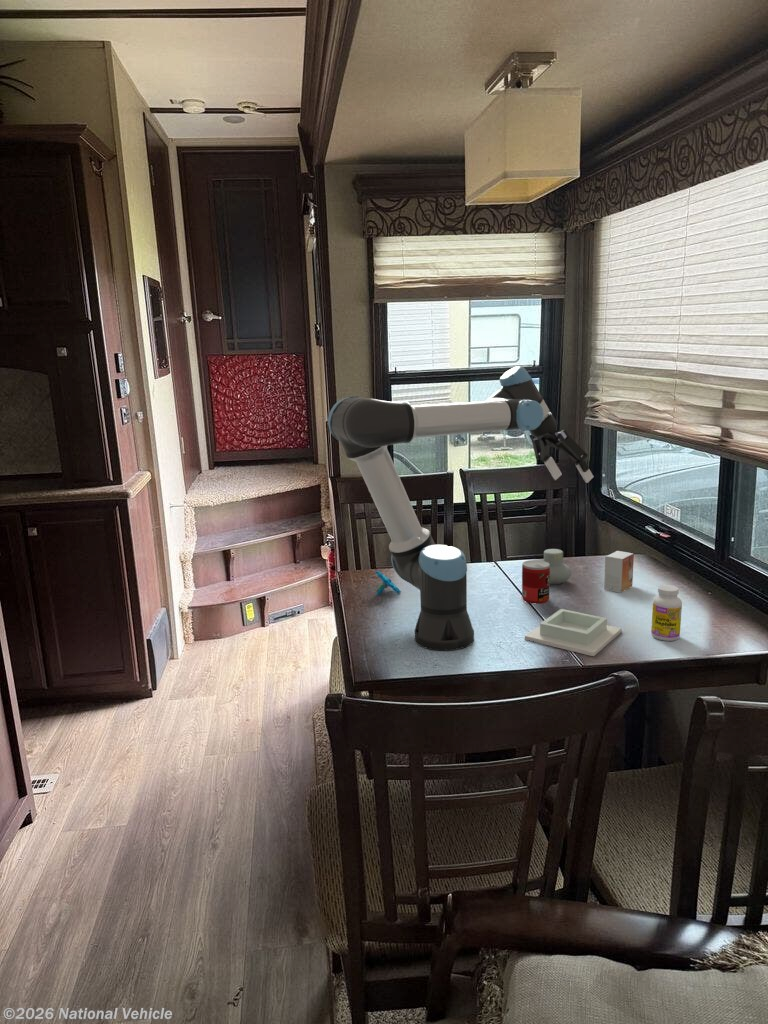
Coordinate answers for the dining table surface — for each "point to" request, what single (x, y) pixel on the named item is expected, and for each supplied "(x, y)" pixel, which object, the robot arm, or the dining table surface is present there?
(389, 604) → the dining table surface
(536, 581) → the canned food
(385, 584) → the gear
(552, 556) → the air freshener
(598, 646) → the tray
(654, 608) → the supplement bottle
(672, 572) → the dining table surface
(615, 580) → the small box
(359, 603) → the dining table surface
